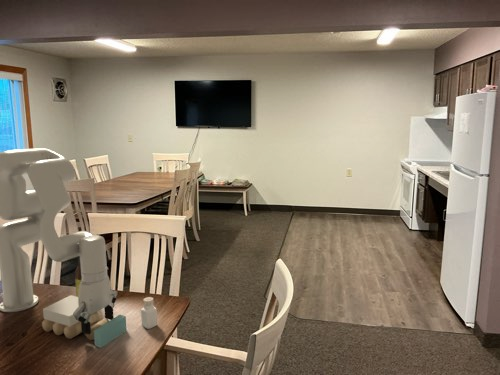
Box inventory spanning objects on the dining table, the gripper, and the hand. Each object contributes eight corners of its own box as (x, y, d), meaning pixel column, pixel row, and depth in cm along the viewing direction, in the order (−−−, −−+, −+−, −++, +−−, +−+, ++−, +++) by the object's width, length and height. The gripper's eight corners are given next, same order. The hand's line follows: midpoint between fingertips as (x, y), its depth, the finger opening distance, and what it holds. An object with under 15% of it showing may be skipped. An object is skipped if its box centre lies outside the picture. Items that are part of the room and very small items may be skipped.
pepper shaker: (147, 330, 129) (146, 303, 127) (141, 325, 132) (139, 299, 130) (158, 325, 132) (157, 298, 130) (151, 321, 135) (150, 295, 133)
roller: (95, 341, 123) (94, 330, 122) (85, 338, 124) (85, 327, 124) (111, 330, 129) (110, 319, 128) (102, 328, 131) (101, 317, 130)
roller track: (42, 330, 129) (41, 319, 128) (72, 314, 140) (71, 303, 139) (92, 346, 120) (91, 334, 119) (120, 327, 131) (119, 316, 130)
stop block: (95, 345, 120) (93, 330, 119) (120, 328, 130) (119, 314, 129) (101, 347, 119) (100, 332, 118) (126, 330, 129) (125, 316, 128)
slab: (43, 318, 128) (42, 308, 128) (71, 304, 138) (70, 295, 138) (70, 326, 124) (69, 316, 123) (97, 311, 133) (96, 301, 133)
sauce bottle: (88, 308, 144) (84, 256, 140) (73, 306, 145) (68, 255, 142) (98, 300, 150) (95, 250, 147) (84, 299, 151) (80, 249, 148)
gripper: (106, 264, 133) (109, 311, 135) (62, 283, 117) (67, 336, 120) (123, 267, 129) (126, 316, 132) (81, 288, 114) (85, 342, 117)
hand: (98, 325), depth 126 cm, fingers open, 9 cm apart
